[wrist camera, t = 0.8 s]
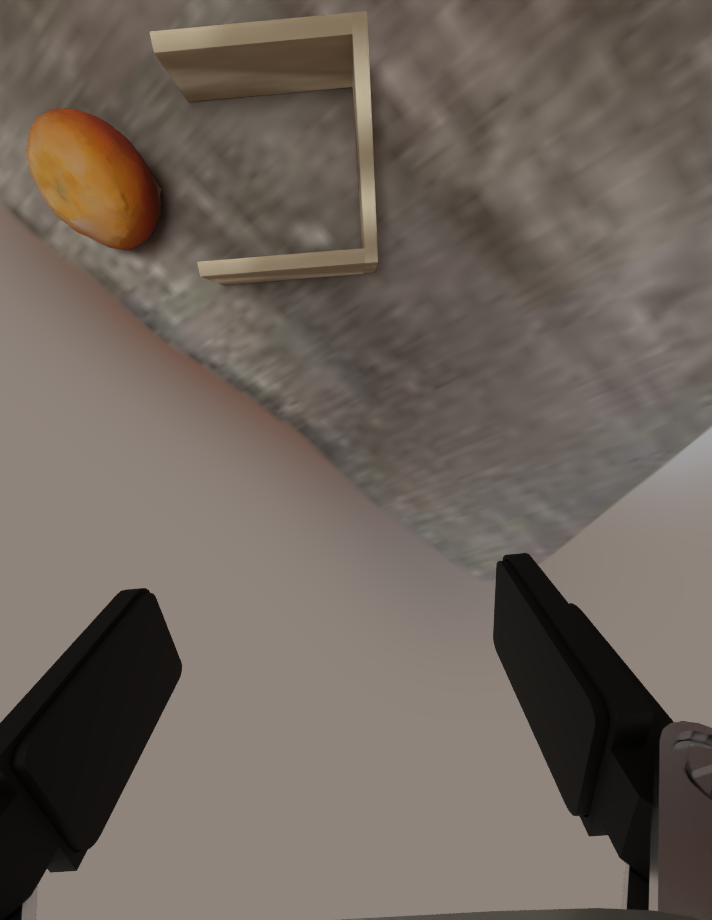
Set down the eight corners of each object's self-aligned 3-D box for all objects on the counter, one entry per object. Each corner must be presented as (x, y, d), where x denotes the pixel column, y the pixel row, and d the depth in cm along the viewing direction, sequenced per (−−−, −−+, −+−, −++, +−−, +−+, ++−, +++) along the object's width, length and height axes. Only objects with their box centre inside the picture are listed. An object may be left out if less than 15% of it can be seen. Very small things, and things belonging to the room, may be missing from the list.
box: (185, 85, 26) (149, 31, 22) (364, 68, 26) (367, 11, 22) (223, 285, 31) (200, 276, 27) (374, 272, 31) (378, 261, 26)
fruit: (195, 168, 27) (114, 179, 22) (176, 252, 33) (107, 277, 27) (103, 79, 25) (-12, 66, 20) (98, 184, 31) (8, 196, 25)
